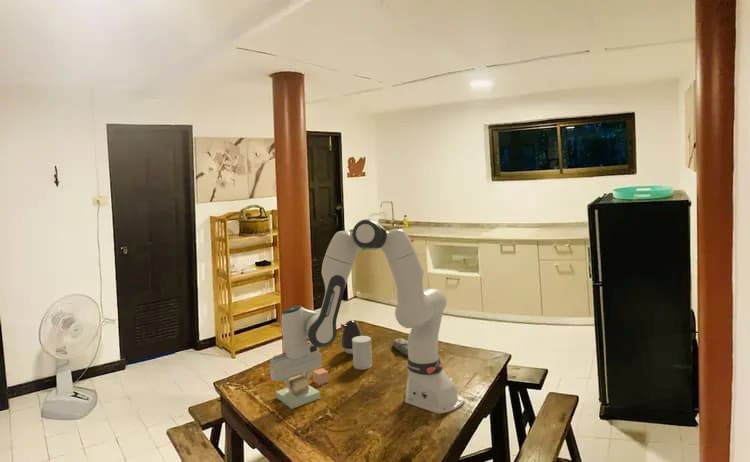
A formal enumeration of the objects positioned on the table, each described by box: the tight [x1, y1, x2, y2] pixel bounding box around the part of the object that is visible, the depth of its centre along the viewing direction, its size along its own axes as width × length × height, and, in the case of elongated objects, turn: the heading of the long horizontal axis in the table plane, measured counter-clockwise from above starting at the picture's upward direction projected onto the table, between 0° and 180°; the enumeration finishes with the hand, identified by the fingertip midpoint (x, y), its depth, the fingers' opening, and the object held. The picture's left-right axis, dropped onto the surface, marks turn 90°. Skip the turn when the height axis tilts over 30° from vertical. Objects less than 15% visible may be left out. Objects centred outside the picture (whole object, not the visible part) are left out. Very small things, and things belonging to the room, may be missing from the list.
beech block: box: [288, 374, 309, 397], centre depth 181 cm, size 6×6×5 cm
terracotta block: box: [312, 367, 330, 386], centre depth 195 cm, size 4×4×4 cm
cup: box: [352, 335, 373, 370], centre depth 209 cm, size 8×8×12 cm
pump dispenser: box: [340, 319, 363, 355], centre depth 225 cm, size 10×10×15 cm
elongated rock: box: [392, 338, 408, 357], centre depth 219 cm, size 35×5×10 cm
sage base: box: [275, 384, 321, 410], centre depth 182 cm, size 12×12×3 cm
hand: (297, 385), depth 182 cm, fingers closed on beech block, 5 cm apart
